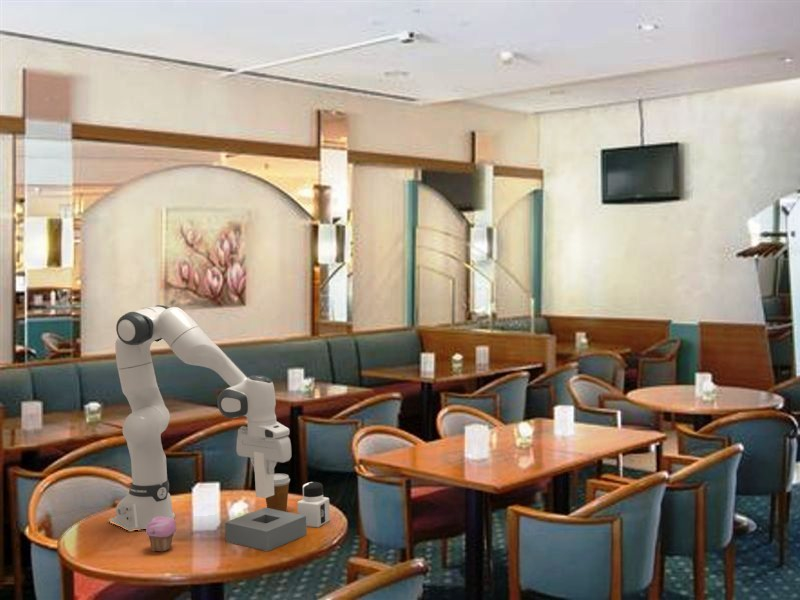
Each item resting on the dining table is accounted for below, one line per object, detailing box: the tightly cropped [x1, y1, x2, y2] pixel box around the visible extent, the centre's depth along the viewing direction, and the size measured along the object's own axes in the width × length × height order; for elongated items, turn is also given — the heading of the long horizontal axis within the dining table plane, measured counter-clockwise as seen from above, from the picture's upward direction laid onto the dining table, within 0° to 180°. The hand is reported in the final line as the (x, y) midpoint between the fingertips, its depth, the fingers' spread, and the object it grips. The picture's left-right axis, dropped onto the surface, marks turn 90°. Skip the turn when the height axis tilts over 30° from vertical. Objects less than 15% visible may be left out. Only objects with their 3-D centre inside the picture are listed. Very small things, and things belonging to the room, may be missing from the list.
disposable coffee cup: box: [265, 473, 291, 512], centre depth 307 cm, size 10×10×12 cm
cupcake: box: [145, 516, 177, 552], centre depth 272 cm, size 9×9×10 cm
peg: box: [254, 452, 275, 499], centre depth 279 cm, size 4×4×14 cm
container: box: [296, 481, 331, 528], centre depth 293 cm, size 8×8×13 cm
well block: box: [224, 507, 307, 552], centre depth 280 cm, size 18×18×6 cm
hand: (264, 472), depth 279 cm, fingers closed on peg, 4 cm apart
